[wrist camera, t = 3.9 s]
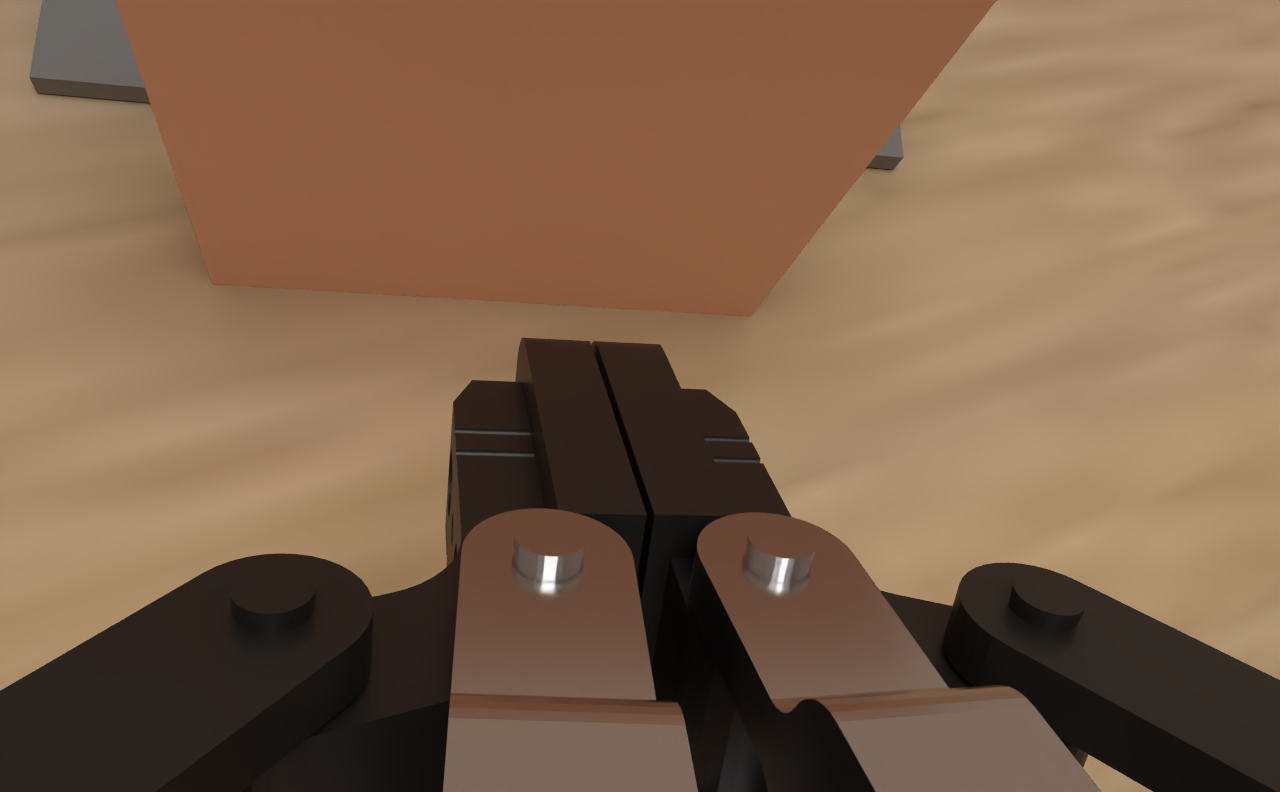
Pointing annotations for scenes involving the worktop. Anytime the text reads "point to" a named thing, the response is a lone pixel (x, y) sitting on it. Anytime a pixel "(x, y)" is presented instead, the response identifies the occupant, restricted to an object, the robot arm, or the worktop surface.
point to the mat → (106, 67)
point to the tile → (529, 138)
